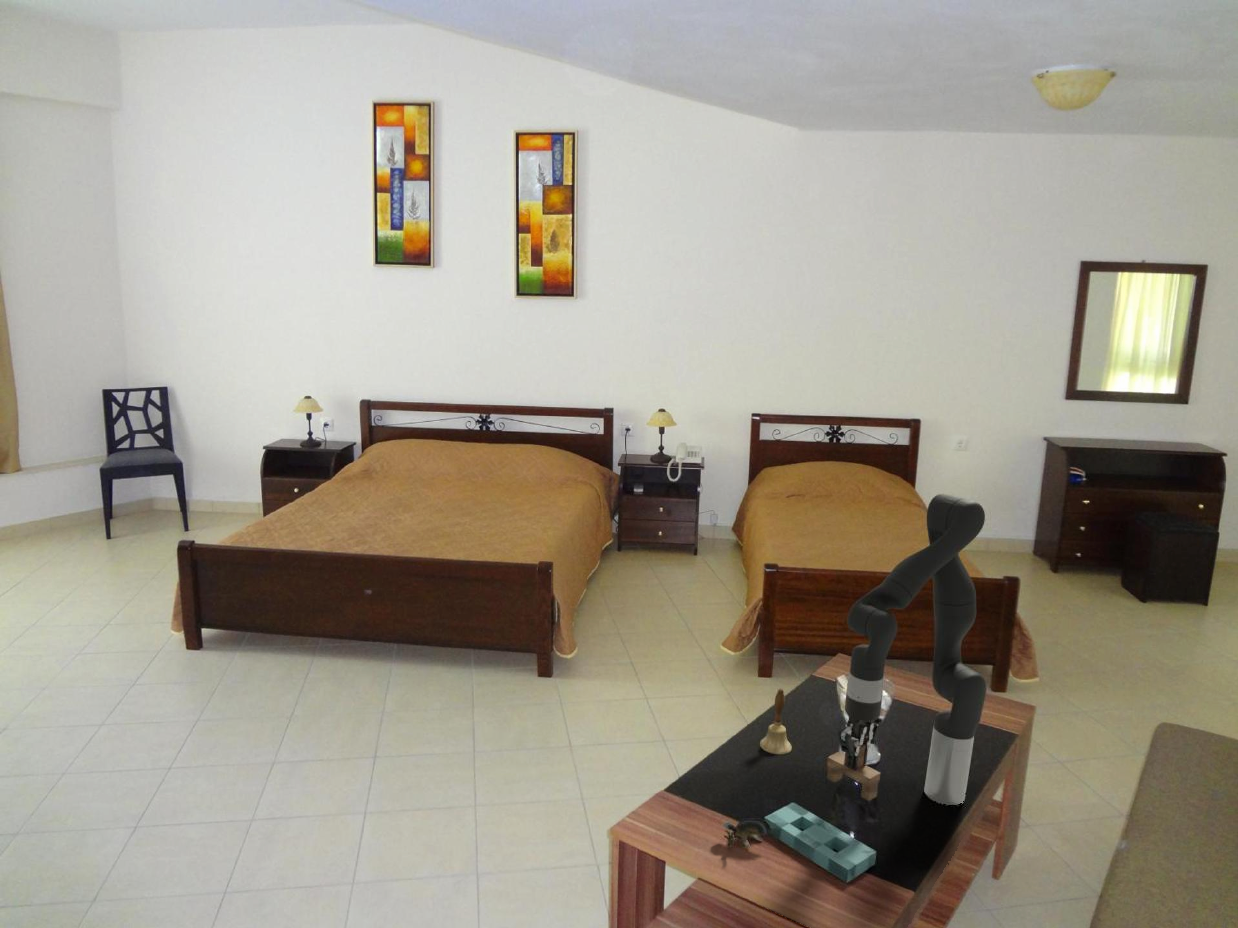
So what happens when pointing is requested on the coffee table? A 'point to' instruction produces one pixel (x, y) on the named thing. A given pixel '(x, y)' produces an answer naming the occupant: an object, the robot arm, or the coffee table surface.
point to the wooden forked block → (854, 772)
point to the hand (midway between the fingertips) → (856, 765)
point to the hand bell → (777, 730)
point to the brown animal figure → (746, 830)
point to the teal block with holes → (821, 842)
